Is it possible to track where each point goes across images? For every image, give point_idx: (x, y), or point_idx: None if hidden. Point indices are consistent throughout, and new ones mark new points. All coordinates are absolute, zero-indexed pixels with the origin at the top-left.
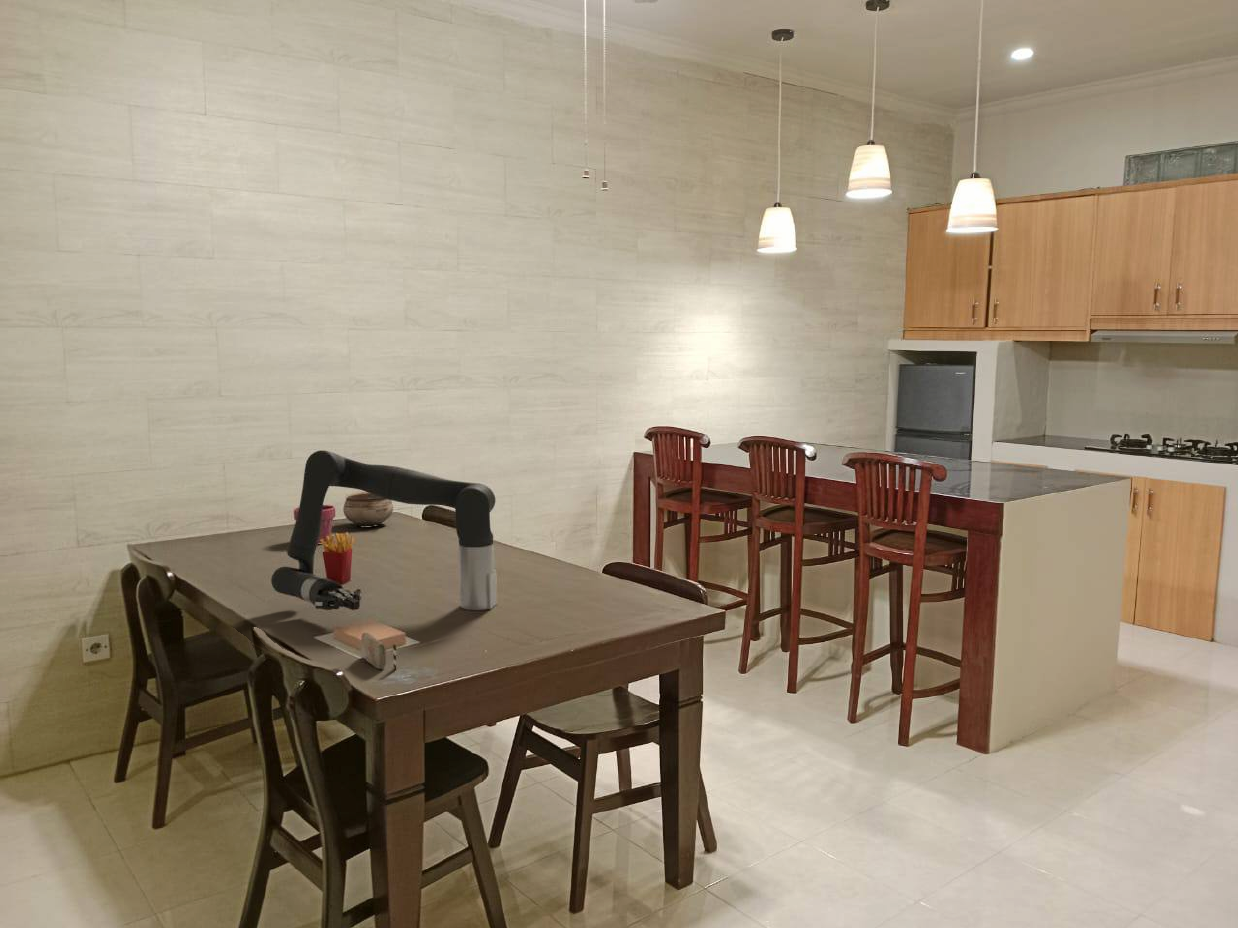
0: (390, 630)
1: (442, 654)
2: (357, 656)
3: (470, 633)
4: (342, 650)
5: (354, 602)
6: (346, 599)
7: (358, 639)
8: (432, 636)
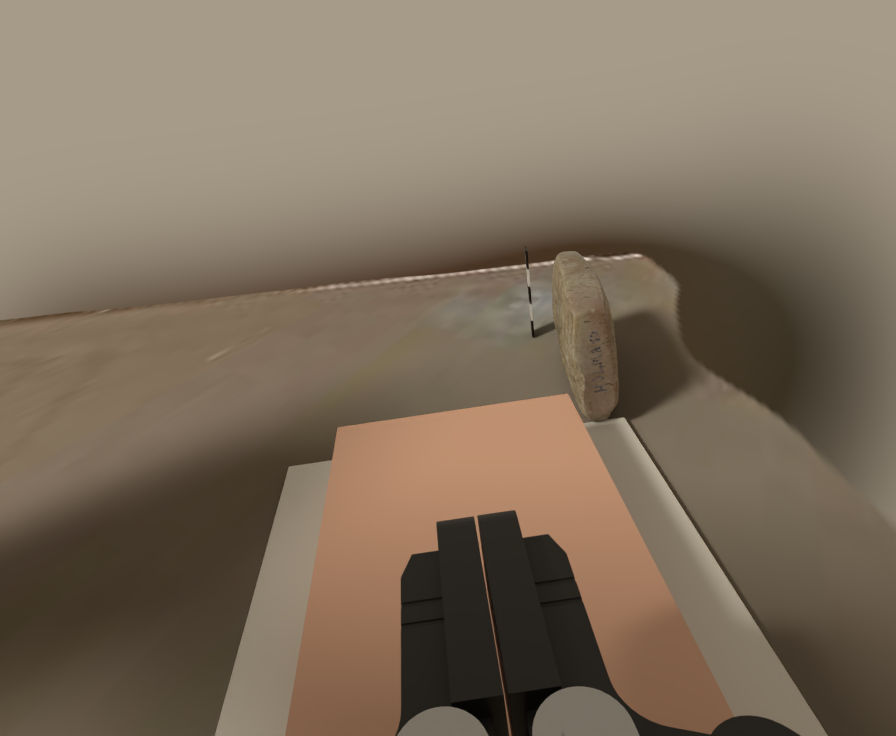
0: (365, 486)
1: (330, 370)
2: (629, 437)
3: (42, 483)
4: (698, 533)
5: (498, 514)
6: (556, 668)
7: (596, 453)
8: (164, 524)
